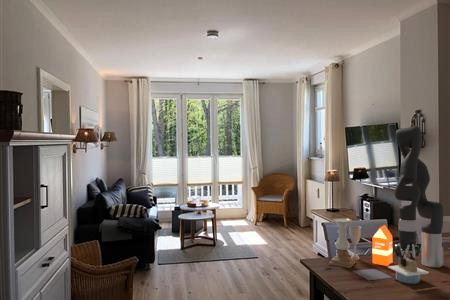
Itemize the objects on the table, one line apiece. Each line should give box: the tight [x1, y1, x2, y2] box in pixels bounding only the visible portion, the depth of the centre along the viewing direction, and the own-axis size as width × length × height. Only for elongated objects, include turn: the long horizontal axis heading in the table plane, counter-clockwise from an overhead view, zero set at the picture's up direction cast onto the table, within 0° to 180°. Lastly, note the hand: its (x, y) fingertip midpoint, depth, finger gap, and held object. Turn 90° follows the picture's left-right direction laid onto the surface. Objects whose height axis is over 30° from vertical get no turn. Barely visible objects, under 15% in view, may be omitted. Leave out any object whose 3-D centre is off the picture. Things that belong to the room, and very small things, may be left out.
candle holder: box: [329, 217, 357, 269], centre depth 192 cm, size 11×11×24 cm
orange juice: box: [371, 224, 394, 267], centre depth 194 cm, size 8×9×20 cm
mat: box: [352, 268, 393, 281], centre depth 176 cm, size 13×13×1 cm
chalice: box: [348, 224, 362, 261], centre depth 202 cm, size 7×7×18 cm
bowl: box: [395, 271, 421, 285], centre depth 169 cm, size 10×10×5 cm
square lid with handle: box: [387, 257, 430, 276], centre depth 169 cm, size 12×12×5 cm
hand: (407, 265), depth 169 cm, fingers open, 4 cm apart
